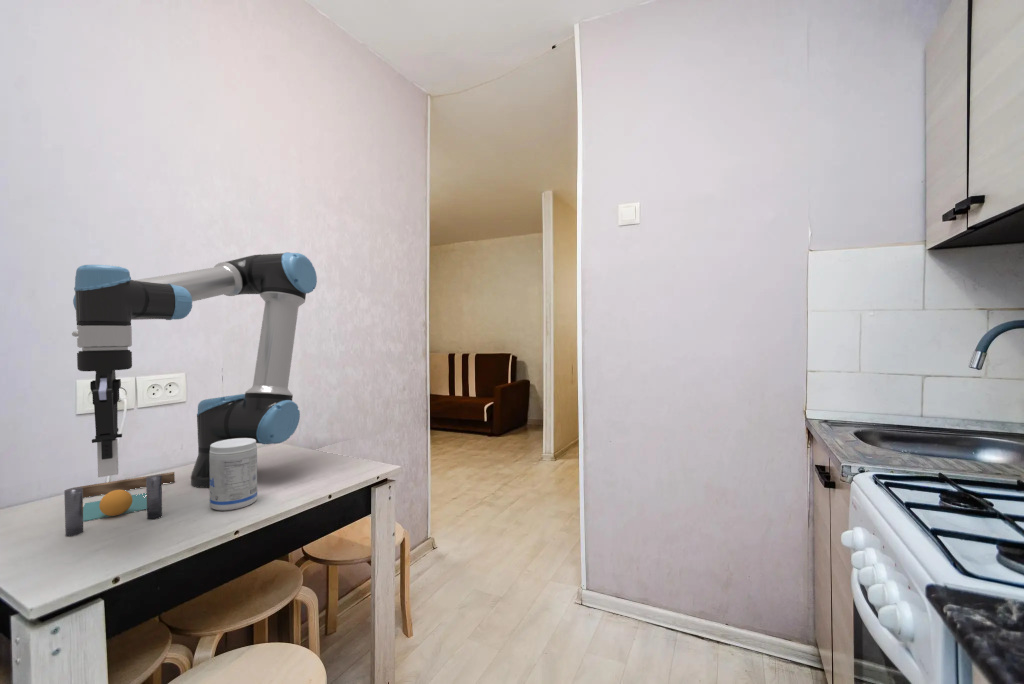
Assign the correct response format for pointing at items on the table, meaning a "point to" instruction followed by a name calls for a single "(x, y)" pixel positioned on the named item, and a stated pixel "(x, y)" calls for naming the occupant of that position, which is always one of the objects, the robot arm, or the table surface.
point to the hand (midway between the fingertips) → (108, 474)
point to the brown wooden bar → (122, 485)
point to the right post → (154, 496)
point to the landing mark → (94, 512)
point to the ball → (115, 502)
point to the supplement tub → (233, 473)
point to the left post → (73, 511)
